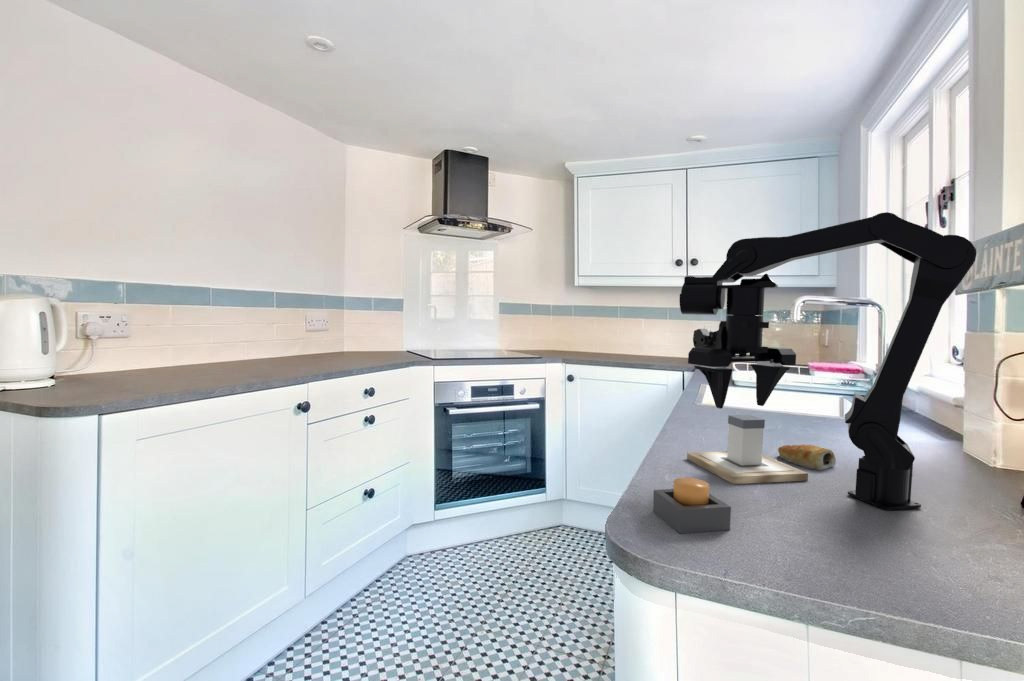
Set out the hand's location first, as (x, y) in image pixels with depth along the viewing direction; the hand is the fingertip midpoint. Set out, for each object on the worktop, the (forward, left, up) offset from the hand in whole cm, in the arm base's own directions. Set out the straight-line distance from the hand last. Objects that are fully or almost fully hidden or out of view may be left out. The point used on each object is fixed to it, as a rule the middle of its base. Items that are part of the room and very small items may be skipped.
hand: (740, 406), depth 84 cm
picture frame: (-3, -3, -12) cm, 13 cm away
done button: (+19, +16, -9) cm, 26 cm away
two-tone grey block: (-3, -3, -10) cm, 11 cm away
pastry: (-18, -5, -12) cm, 22 cm away
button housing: (+19, +16, -12) cm, 27 cm away
